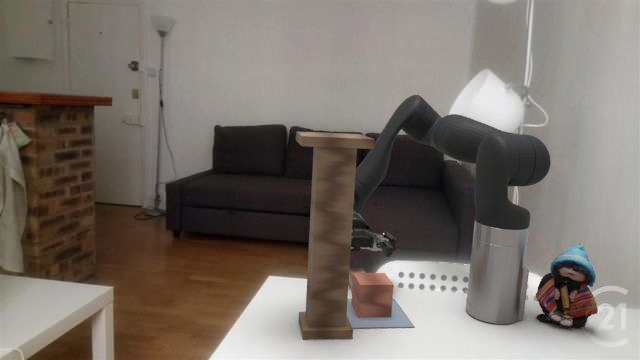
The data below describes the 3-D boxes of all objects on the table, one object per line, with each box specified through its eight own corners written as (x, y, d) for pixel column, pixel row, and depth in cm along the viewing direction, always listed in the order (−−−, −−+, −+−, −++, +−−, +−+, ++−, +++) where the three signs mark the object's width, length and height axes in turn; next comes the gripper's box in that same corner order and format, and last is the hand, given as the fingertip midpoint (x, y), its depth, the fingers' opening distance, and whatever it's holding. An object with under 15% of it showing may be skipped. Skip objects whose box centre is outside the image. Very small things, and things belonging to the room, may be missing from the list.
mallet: (368, 281, 104) (370, 254, 103) (391, 317, 87) (393, 284, 86) (340, 282, 103) (342, 254, 102) (358, 317, 87) (360, 284, 86)
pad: (394, 299, 96) (394, 298, 96) (414, 327, 84) (414, 326, 84) (338, 299, 94) (338, 298, 94) (351, 328, 83) (351, 327, 83)
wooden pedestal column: (348, 310, 90) (360, 134, 85) (361, 338, 79) (375, 139, 74) (288, 311, 88) (296, 131, 83) (293, 339, 78) (302, 136, 73)
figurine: (531, 326, 87) (541, 244, 85) (533, 311, 93) (543, 235, 91) (595, 340, 83) (608, 254, 80) (593, 324, 89) (605, 244, 87)
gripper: (319, 212, 108) (331, 232, 92) (382, 213, 110) (405, 233, 94) (317, 245, 109) (329, 270, 93) (380, 246, 111) (402, 270, 95)
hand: (367, 251), depth 94 cm, fingers open, 8 cm apart
